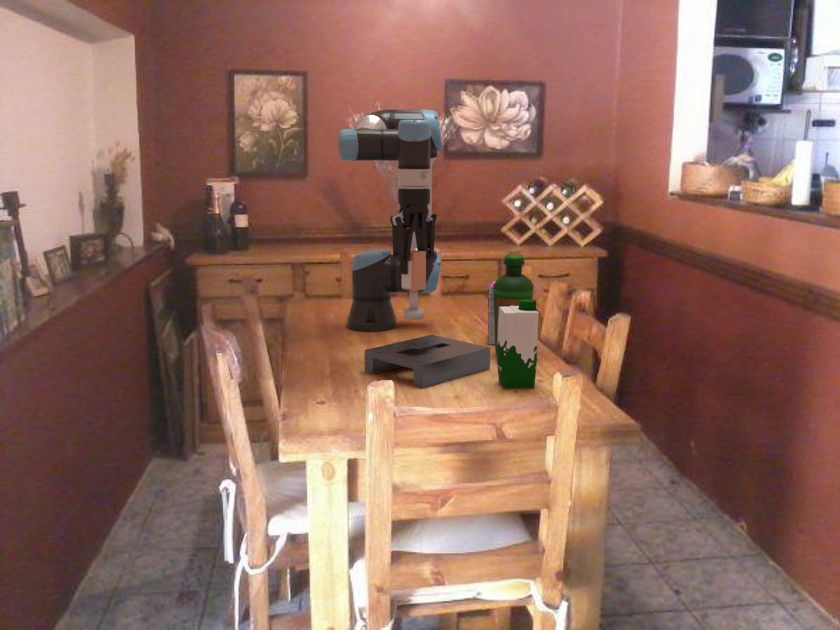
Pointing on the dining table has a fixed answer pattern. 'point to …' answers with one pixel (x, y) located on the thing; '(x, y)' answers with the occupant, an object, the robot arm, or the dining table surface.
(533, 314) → the milk carton
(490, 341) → the candy bar box
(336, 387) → the dining table surface
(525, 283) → the bottle
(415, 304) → the keyhole peg
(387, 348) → the keyhole bracket
